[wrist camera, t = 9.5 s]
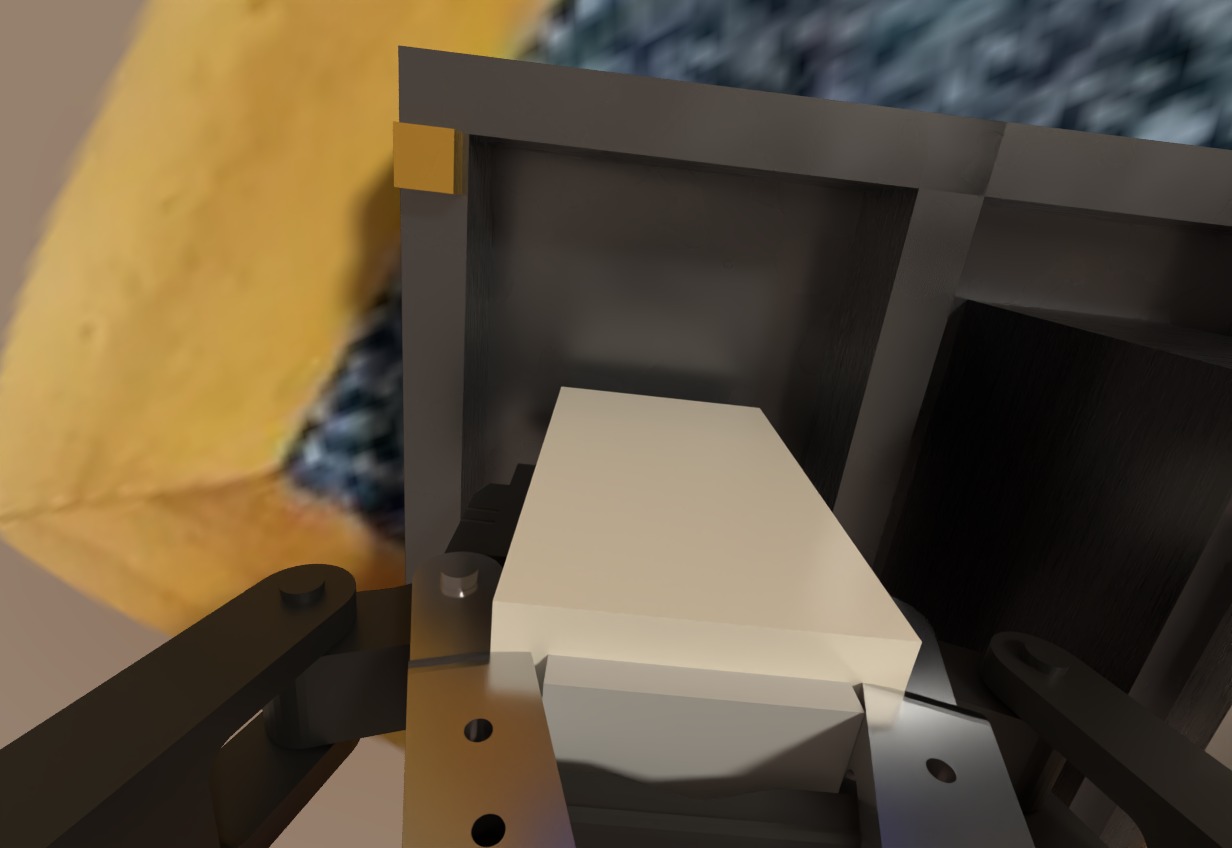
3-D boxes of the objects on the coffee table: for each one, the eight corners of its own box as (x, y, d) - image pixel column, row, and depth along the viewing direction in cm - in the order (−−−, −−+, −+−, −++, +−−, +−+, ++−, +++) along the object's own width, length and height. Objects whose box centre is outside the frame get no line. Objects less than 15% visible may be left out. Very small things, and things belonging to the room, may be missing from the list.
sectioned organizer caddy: (1298, 190, 14) (2258, 168, 6) (1045, 725, 19) (1350, 1094, 11) (453, 85, 13) (189, -109, 5) (445, 671, 19) (313, 1023, 11)
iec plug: (759, 408, 13) (941, 670, 6) (724, 575, 15) (833, 956, 7) (561, 386, 13) (484, 627, 6) (547, 558, 14) (472, 927, 7)
